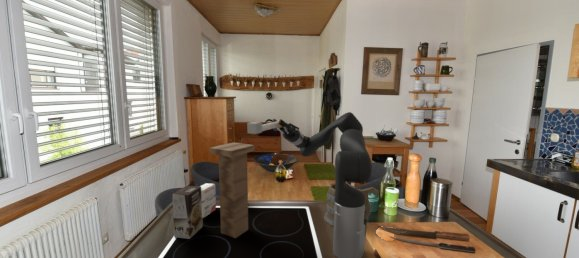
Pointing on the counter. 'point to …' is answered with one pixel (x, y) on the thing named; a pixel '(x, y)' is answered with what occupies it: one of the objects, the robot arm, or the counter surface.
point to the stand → (233, 187)
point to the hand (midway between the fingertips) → (276, 121)
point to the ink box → (208, 199)
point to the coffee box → (187, 211)
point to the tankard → (331, 202)
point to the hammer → (261, 127)
